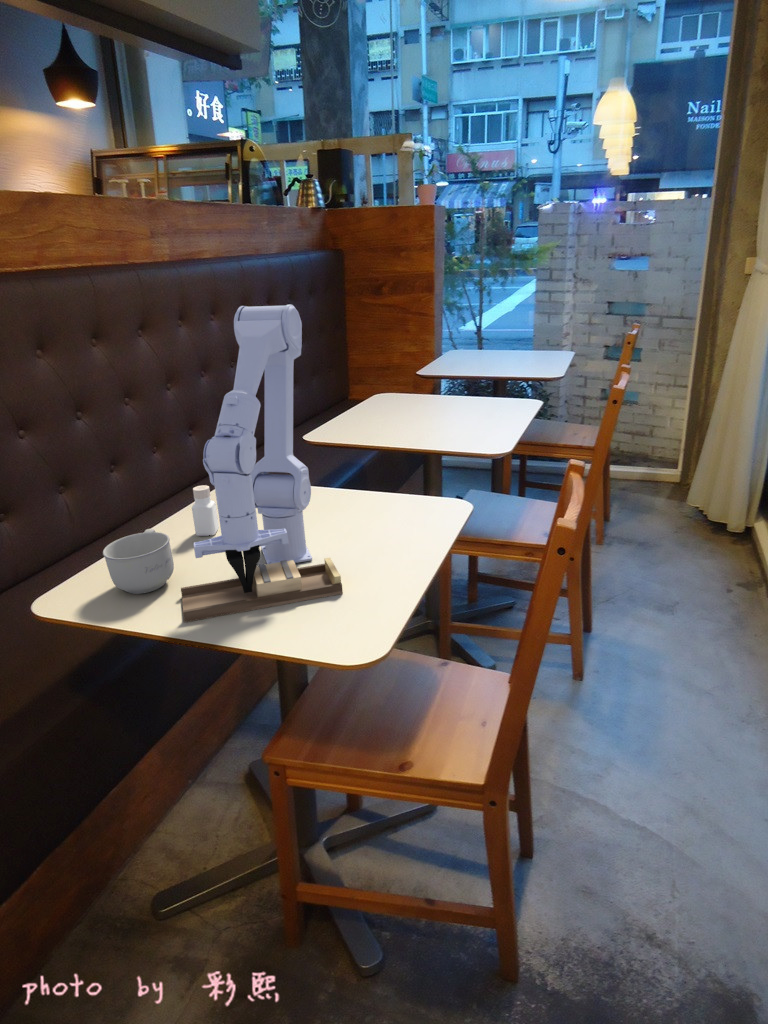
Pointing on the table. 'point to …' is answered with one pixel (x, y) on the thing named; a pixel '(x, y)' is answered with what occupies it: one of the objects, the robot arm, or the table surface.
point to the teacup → (140, 561)
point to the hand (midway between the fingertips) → (247, 590)
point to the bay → (233, 599)
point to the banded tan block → (276, 578)
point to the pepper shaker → (204, 512)
